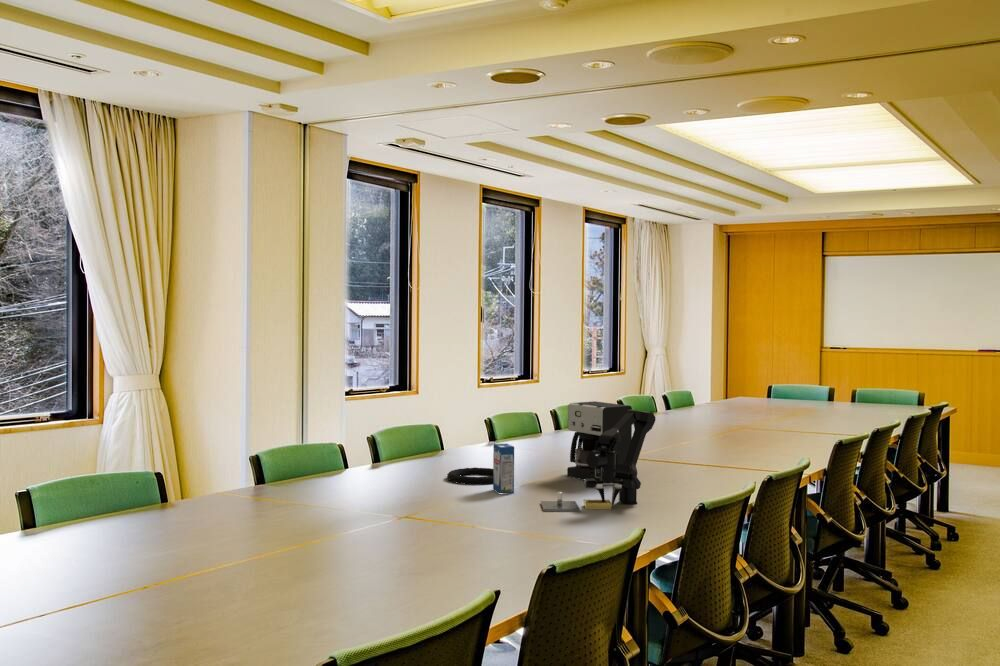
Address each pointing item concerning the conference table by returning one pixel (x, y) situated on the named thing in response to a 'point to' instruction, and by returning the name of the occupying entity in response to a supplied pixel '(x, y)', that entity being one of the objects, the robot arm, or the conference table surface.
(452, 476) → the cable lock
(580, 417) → the coffee maker
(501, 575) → the conference table surface
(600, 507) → the yellow rectangular frame
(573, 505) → the keeper plate
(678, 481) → the conference table surface
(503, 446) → the milk carton
